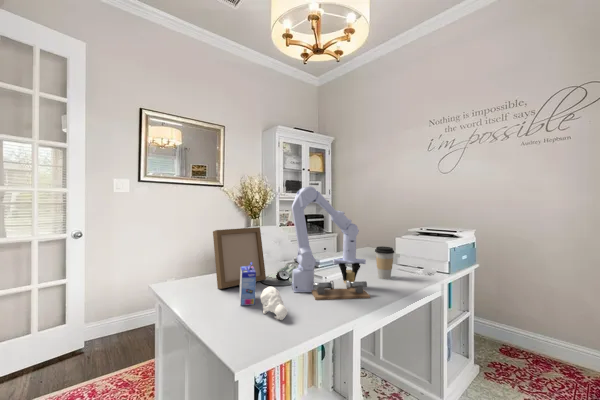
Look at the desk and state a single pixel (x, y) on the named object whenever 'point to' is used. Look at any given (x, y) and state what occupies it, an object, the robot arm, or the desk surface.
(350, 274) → the block
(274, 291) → the white sculpted piece
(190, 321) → the desk surface
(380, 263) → the coffee cup
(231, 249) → the photo frame
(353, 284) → the stand
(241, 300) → the ink cartridge box
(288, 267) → the metal bracket
